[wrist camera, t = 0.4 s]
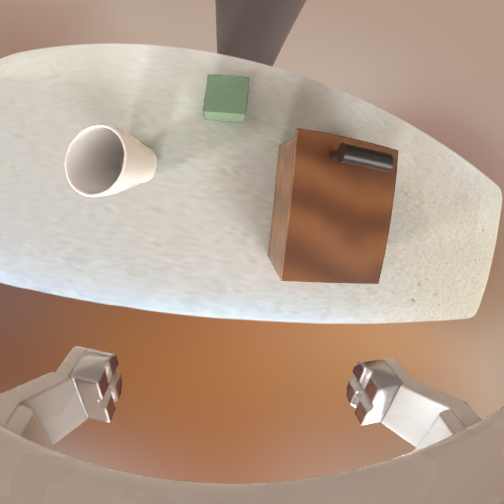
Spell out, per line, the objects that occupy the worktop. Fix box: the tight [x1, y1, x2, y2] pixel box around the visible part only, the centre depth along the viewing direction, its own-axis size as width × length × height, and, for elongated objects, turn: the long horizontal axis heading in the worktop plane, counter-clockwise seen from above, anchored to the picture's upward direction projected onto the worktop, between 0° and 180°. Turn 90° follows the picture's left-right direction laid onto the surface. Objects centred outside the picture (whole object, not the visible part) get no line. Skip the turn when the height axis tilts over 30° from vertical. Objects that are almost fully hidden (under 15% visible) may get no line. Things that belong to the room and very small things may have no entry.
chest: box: [268, 138, 295, 277], centre depth 35 cm, size 16×13×9 cm
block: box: [203, 75, 249, 122], centre depth 32 cm, size 5×5×5 cm
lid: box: [280, 128, 398, 284], centre depth 28 cm, size 16×13×5 cm
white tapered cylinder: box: [65, 124, 158, 197], centre depth 28 cm, size 7×7×15 cm
